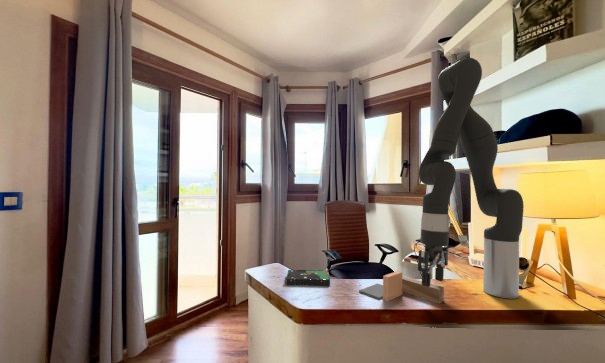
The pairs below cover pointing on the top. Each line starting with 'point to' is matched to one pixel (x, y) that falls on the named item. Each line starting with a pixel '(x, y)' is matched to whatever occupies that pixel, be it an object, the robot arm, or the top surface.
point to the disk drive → (308, 277)
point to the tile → (392, 285)
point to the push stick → (422, 290)
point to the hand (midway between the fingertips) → (432, 283)
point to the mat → (373, 291)
